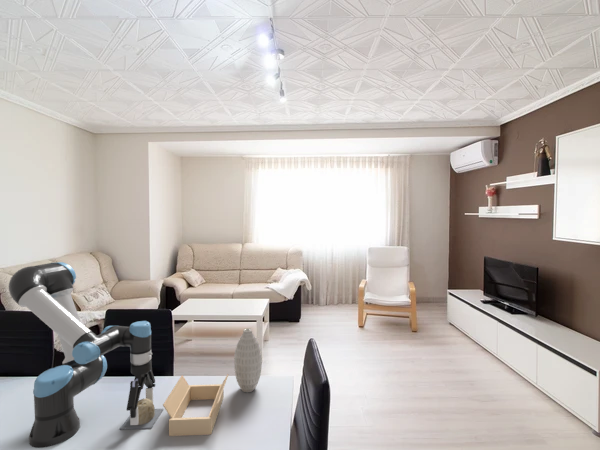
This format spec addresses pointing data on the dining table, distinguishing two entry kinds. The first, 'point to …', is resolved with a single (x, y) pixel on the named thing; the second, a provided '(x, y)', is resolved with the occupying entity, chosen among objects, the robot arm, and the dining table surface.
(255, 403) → the dining table surface
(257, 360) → the vase
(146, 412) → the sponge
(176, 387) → the carton
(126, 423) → the mat
